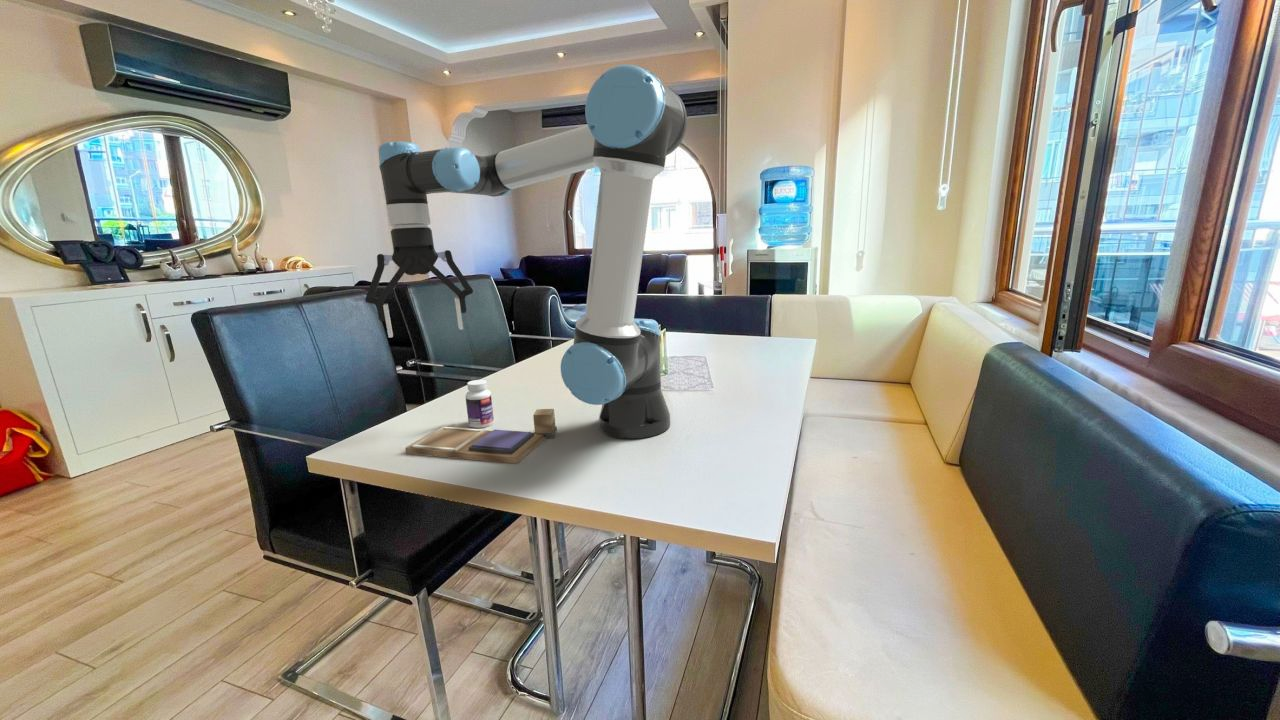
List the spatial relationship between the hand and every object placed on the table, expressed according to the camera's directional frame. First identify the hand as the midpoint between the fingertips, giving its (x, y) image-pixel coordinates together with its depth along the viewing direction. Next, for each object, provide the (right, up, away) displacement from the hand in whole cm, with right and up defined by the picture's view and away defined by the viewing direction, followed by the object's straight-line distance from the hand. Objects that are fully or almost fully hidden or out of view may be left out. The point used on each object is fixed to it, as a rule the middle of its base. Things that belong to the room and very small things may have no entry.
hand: (426, 332), depth 107 cm
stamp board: (+12, -23, -5) cm, 26 cm away
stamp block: (+25, -21, 0) cm, 33 cm away
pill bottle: (+9, -20, +7) cm, 23 cm away
